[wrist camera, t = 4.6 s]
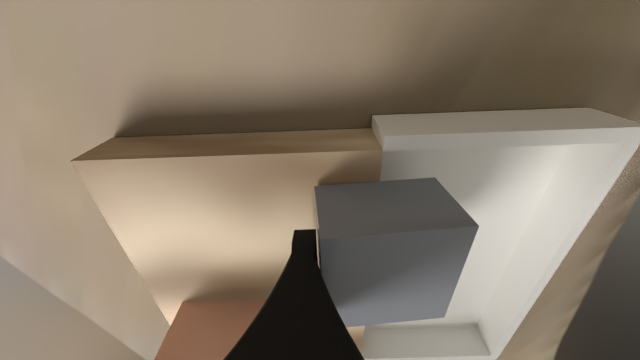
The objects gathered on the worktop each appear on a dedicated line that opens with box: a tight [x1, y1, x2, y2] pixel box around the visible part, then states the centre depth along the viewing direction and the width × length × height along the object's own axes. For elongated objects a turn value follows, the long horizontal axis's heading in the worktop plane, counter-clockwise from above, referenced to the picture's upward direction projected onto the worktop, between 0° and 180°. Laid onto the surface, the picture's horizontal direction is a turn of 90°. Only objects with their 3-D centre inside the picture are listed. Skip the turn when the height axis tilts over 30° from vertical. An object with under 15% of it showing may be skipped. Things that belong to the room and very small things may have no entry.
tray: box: [362, 107, 640, 360], centre depth 15 cm, size 17×10×2 cm, turn 2°
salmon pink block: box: [154, 299, 267, 360], centre depth 14 cm, size 5×5×3 cm
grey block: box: [314, 177, 479, 327], centre depth 10 cm, size 5×5×3 cm
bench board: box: [70, 128, 383, 354], centre depth 15 cm, size 16×12×2 cm
